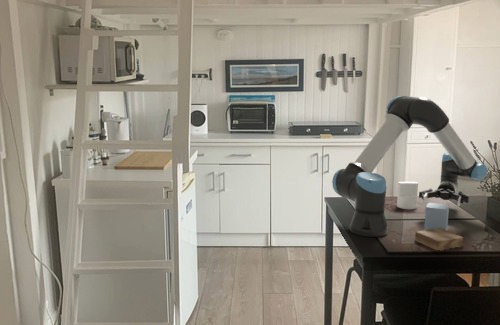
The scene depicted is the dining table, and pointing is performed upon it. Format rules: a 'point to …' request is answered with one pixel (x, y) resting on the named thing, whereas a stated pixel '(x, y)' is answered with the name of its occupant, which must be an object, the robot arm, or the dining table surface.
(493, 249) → the dining table surface
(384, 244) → the dining table surface
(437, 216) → the slate block
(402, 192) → the white cylinder
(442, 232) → the walnut block
